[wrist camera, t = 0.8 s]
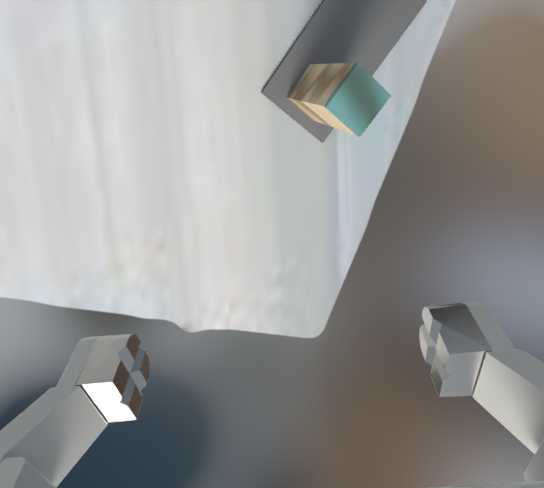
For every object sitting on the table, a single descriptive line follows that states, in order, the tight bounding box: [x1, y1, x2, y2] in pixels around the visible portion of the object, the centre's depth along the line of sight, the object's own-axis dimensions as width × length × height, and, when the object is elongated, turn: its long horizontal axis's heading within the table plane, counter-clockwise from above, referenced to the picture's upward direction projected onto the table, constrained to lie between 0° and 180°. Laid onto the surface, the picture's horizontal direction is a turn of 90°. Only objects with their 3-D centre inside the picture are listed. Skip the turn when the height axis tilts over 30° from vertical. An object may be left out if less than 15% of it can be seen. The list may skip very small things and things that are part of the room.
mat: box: [261, 0, 427, 143], centre depth 50 cm, size 22×11×1 cm, turn 143°
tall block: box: [287, 63, 391, 137], centre depth 45 cm, size 5×5×14 cm
